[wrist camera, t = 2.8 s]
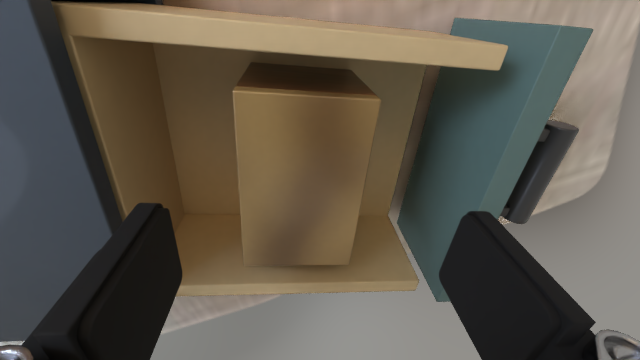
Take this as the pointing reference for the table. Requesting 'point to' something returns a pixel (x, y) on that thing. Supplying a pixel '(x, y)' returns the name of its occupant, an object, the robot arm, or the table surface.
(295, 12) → the table surface
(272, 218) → the box
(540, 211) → the table surface
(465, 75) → the drawer
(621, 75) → the table surface
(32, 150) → the cabinet
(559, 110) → the table surface
